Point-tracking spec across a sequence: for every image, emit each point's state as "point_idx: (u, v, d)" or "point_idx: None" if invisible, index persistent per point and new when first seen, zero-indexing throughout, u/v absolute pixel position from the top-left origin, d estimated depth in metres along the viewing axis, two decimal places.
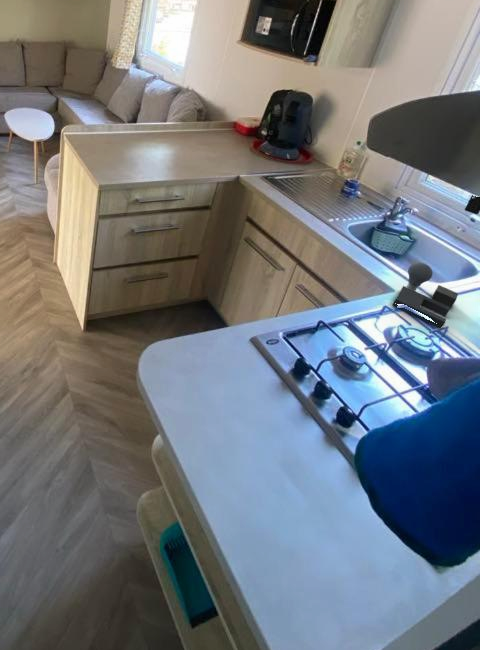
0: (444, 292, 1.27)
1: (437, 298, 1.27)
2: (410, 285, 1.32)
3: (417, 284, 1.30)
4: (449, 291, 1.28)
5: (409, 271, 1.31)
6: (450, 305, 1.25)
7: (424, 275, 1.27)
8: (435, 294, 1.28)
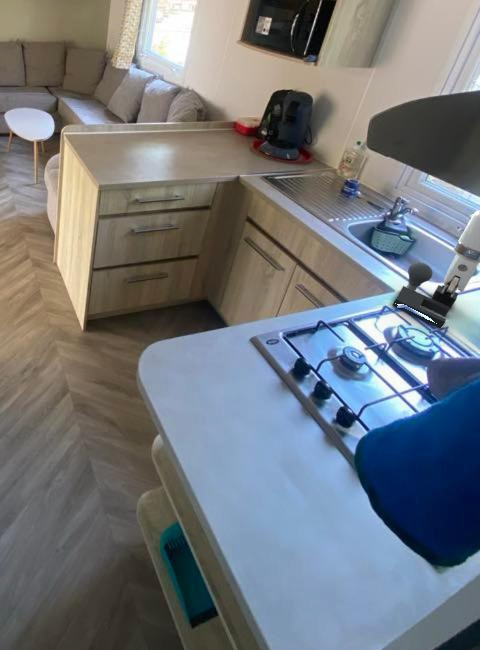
0: None
1: None
2: (410, 285, 1.32)
3: (417, 284, 1.30)
4: None
5: (409, 271, 1.31)
6: (450, 305, 1.25)
7: (424, 275, 1.27)
8: (435, 294, 1.28)
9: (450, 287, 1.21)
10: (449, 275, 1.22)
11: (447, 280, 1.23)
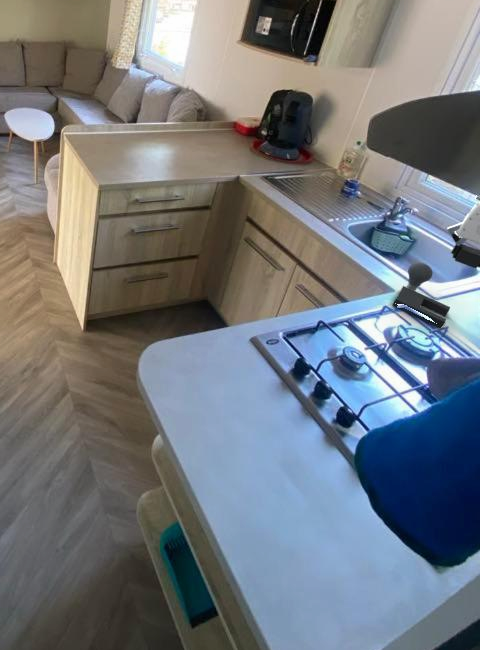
0: (466, 247, 1.22)
1: None
2: (410, 285, 1.32)
3: (417, 284, 1.30)
4: (477, 252, 1.20)
5: (409, 271, 1.31)
6: (457, 256, 1.22)
7: (424, 275, 1.27)
8: None
9: (451, 226, 1.23)
10: None
11: None
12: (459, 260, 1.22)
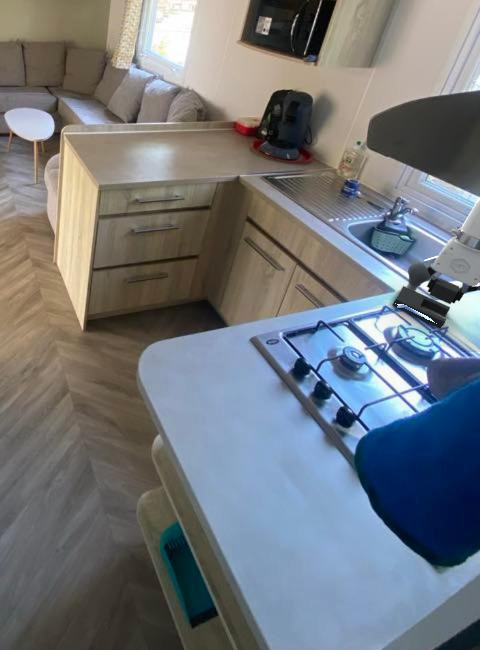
0: (442, 281, 1.19)
1: None
2: (410, 285, 1.32)
3: (417, 284, 1.30)
4: (453, 288, 1.17)
5: (409, 271, 1.31)
6: (431, 290, 1.19)
7: (424, 275, 1.27)
8: None
9: (426, 259, 1.20)
10: None
11: None
12: (433, 294, 1.18)
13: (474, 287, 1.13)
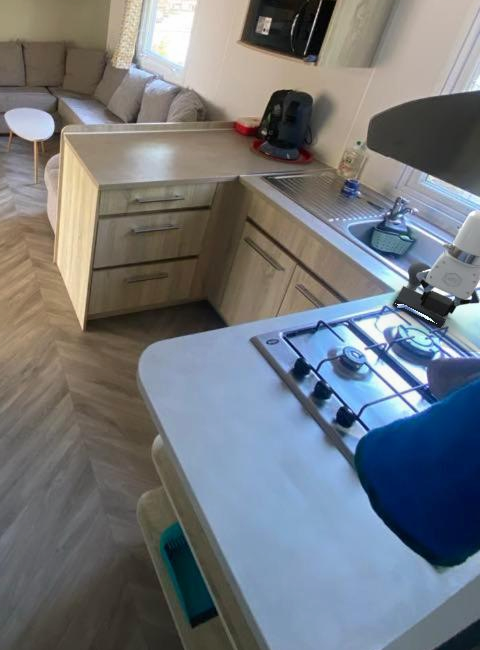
0: (435, 294, 1.21)
1: None
2: (410, 285, 1.32)
3: (417, 284, 1.30)
4: (445, 300, 1.18)
5: (409, 271, 1.31)
6: None
7: None
8: None
9: (419, 272, 1.22)
10: None
11: None
12: (426, 307, 1.20)
13: (466, 300, 1.15)
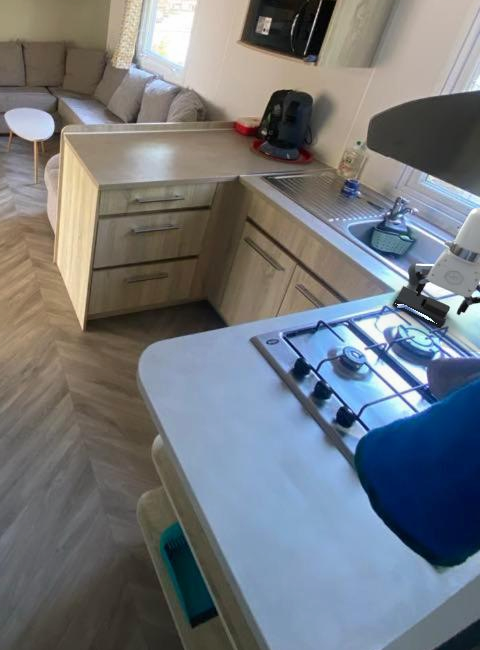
0: (432, 301, 1.21)
1: None
2: (410, 285, 1.32)
3: (417, 284, 1.30)
4: (443, 307, 1.19)
5: (409, 271, 1.31)
6: None
7: (424, 275, 1.27)
8: None
9: (419, 264, 1.21)
10: None
11: None
12: None
13: (479, 299, 1.13)
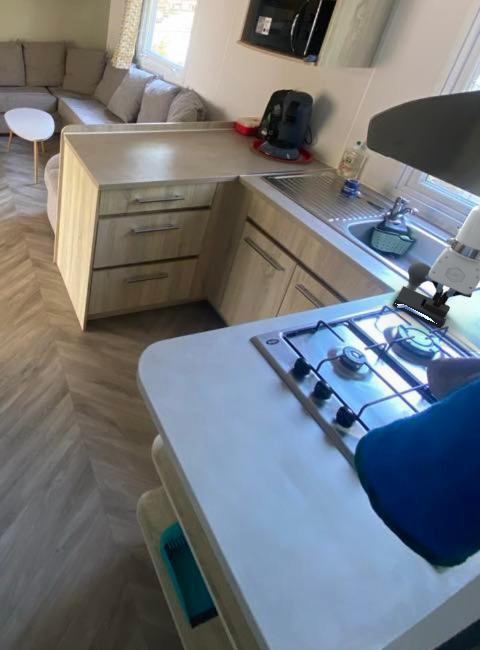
0: (432, 301, 1.21)
1: None
2: (410, 285, 1.32)
3: (417, 284, 1.30)
4: (443, 307, 1.19)
5: (409, 271, 1.31)
6: None
7: (424, 275, 1.27)
8: None
9: None
10: None
11: None
12: None
13: (458, 291, 1.16)
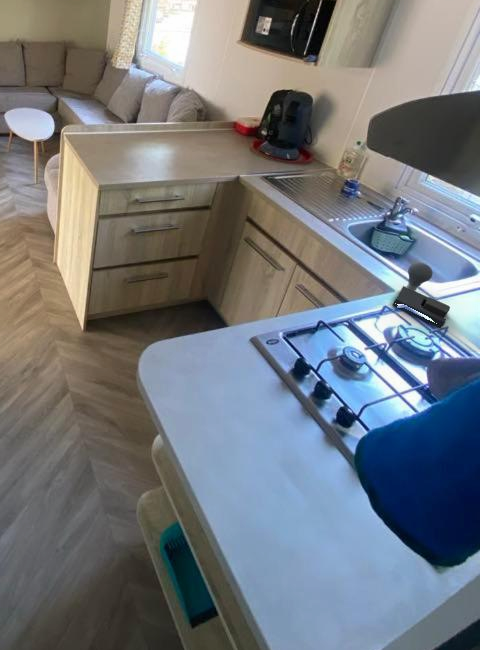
0: (432, 301, 1.21)
1: None
2: (410, 285, 1.32)
3: (417, 284, 1.30)
4: (443, 307, 1.19)
5: (409, 271, 1.31)
6: None
7: (424, 275, 1.27)
8: None
9: None
10: None
11: None
12: None
13: None
